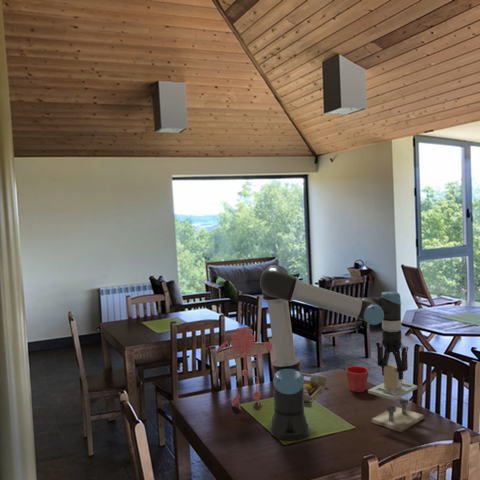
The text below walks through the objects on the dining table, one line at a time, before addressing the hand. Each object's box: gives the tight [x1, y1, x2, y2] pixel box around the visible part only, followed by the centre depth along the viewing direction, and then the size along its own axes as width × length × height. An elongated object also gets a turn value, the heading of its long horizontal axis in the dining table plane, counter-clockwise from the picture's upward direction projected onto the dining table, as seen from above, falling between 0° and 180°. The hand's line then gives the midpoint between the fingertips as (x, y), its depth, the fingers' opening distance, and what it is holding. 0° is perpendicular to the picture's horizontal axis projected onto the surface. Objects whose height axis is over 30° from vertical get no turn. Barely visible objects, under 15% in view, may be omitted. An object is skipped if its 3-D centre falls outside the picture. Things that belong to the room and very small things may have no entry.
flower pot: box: [345, 365, 369, 393], centre depth 239 cm, size 11×11×10 cm
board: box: [371, 398, 425, 433], centre depth 202 cm, size 13×18×7 cm
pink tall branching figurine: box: [215, 327, 273, 411], centre depth 225 cm, size 15×26×35 cm, turn 110°
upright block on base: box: [367, 363, 418, 401], centre depth 203 cm, size 12×18×10 cm, turn 132°
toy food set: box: [272, 372, 327, 403], centre depth 237 cm, size 25×18×8 cm
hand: (392, 385), depth 203 cm, fingers closed on upright block on base, 5 cm apart
